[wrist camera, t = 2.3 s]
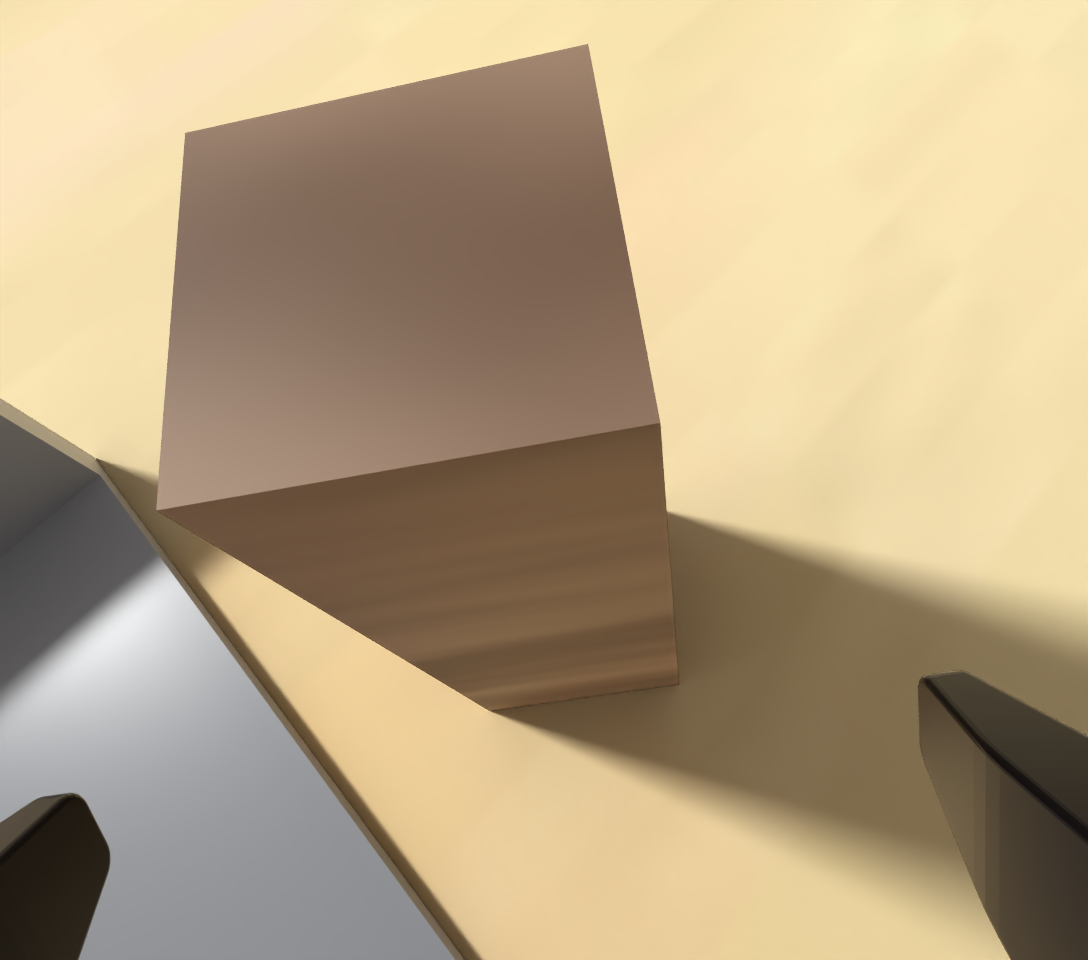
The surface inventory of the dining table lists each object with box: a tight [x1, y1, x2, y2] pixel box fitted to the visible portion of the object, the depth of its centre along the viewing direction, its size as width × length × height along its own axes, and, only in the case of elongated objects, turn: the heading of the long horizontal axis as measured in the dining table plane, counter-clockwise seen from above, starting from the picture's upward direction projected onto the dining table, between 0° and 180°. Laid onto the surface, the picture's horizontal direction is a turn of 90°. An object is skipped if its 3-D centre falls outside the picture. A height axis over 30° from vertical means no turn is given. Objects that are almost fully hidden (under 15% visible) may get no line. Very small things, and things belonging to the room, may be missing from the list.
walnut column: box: [156, 44, 679, 711], centre depth 15 cm, size 5×5×14 cm
